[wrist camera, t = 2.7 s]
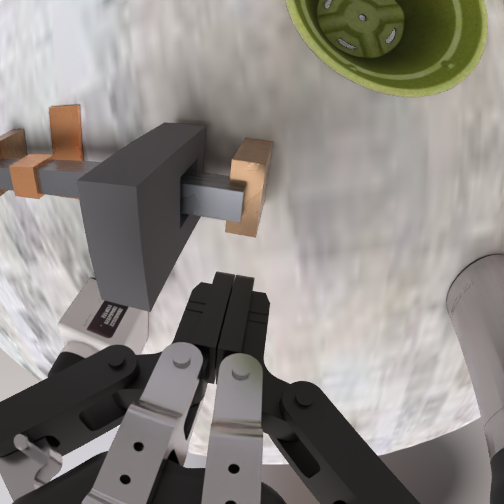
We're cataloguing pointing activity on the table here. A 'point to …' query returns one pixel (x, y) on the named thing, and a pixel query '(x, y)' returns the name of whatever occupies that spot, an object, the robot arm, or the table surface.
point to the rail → (74, 167)
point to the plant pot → (396, 41)
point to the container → (98, 327)
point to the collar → (140, 212)
